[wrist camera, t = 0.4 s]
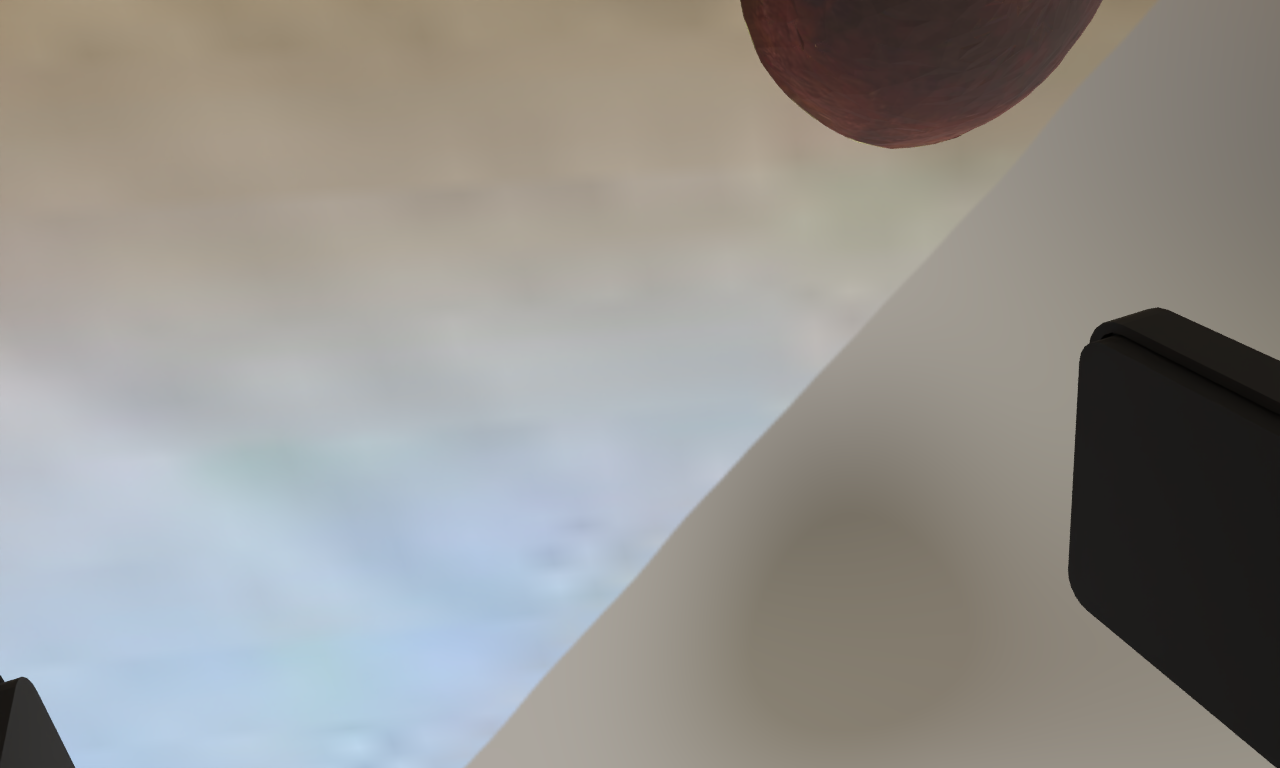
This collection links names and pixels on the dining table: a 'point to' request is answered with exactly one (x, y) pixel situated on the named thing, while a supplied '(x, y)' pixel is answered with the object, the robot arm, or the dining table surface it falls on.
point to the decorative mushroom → (911, 60)
